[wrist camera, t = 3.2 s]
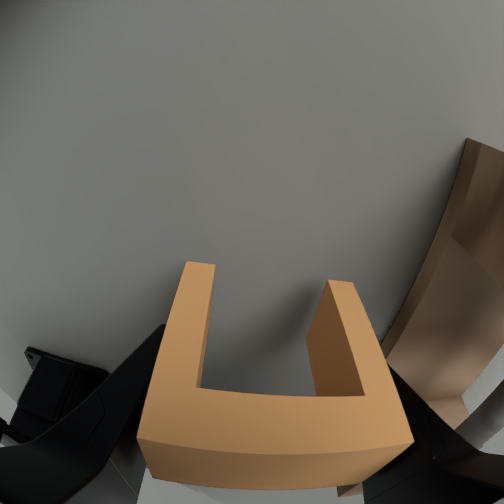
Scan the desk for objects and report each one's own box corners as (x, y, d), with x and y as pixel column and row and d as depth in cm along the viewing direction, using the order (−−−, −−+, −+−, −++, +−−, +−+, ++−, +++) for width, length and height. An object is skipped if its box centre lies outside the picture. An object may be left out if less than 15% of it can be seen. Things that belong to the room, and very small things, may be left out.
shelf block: (430, 414, 20) (453, 480, 14) (326, 425, 19) (339, 510, 13) (563, 197, 10) (639, 257, 4) (467, 137, 9) (603, 208, 3)
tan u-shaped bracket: (352, 282, 11) (414, 441, 5) (328, 339, 12) (360, 483, 7) (186, 260, 10) (136, 437, 5) (184, 323, 12) (152, 478, 6)
